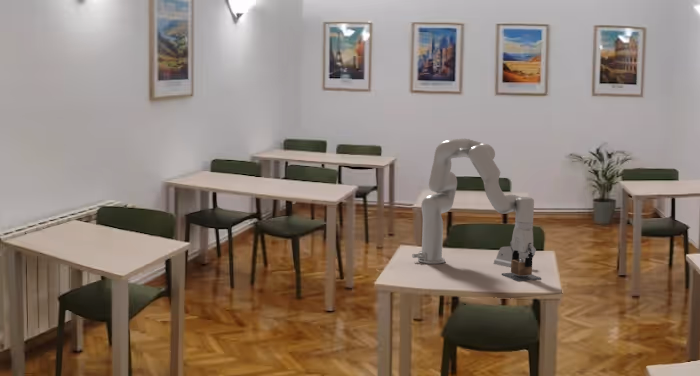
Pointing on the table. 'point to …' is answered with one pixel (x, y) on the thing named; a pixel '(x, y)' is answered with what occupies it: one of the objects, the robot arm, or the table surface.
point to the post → (521, 277)
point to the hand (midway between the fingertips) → (521, 264)
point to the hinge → (506, 256)
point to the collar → (520, 268)
